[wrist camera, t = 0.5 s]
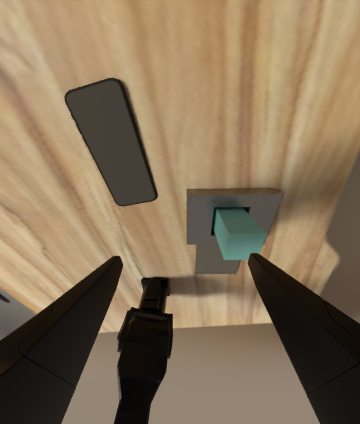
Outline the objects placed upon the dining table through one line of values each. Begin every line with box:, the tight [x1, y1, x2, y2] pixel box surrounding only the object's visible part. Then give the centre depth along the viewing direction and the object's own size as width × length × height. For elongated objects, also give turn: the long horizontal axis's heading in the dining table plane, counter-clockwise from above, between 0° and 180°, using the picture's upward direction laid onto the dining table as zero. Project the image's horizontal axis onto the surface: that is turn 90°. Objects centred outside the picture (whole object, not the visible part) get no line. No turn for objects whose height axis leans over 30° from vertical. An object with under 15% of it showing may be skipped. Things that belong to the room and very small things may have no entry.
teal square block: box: [212, 207, 267, 260], centre depth 18 cm, size 4×4×8 cm
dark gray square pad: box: [195, 244, 240, 274], centre depth 26 cm, size 9×9×1 cm
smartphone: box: [65, 78, 157, 206], centre depth 18 cm, size 7×1×15 cm
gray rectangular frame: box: [187, 188, 283, 245], centre depth 21 cm, size 9×13×2 cm
